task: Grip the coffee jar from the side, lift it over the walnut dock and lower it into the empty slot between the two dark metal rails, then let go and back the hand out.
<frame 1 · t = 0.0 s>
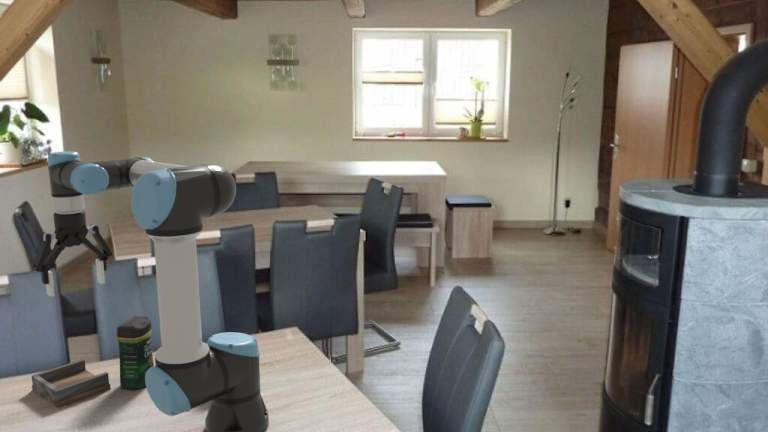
hand: (76, 289, 173), 28 cm above the table, tool pointing down, fingers open, 13 cm apart
coffee jar: (138, 383, 181), on the table
condiment: (222, 383, 181), on the table
rail dock: (71, 389, 177), on the table
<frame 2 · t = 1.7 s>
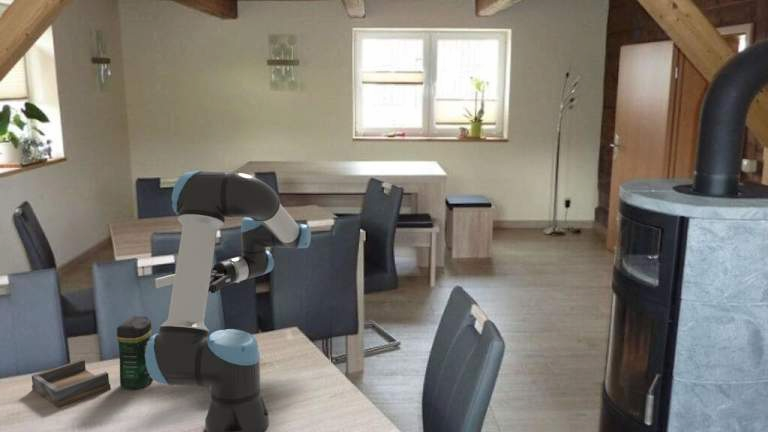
hand: (169, 288, 185), 25 cm above the table, tool horizontal, fingers open, 13 cm apart
nothing on the table moved.
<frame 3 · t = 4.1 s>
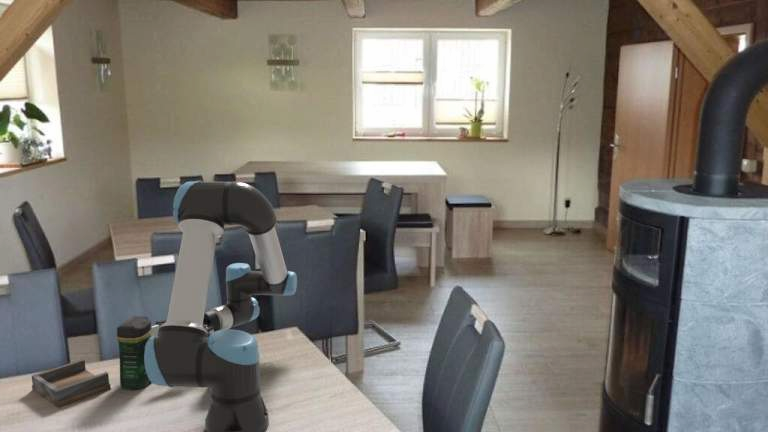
hand: (151, 341, 183), 10 cm above the table, tool horizontal, fingers open, 13 cm apart
nothing on the table moved.
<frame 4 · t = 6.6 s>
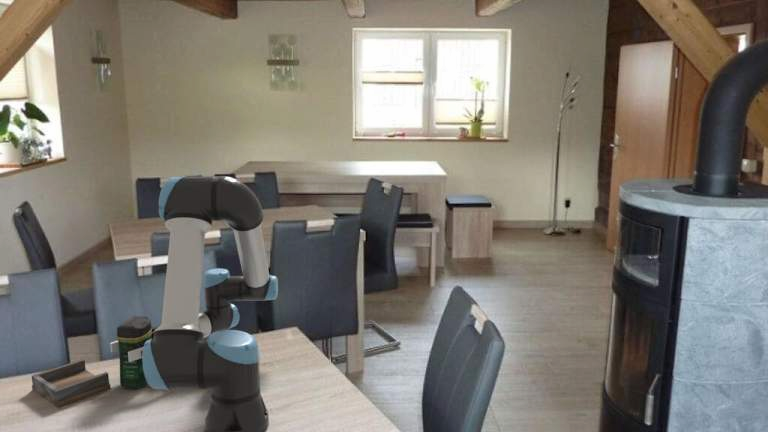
hand: (119, 352, 175), 11 cm above the table, tool horizontal, fingers closed on coffee jar, 9 cm apart
coffee jar: (138, 383, 181), on the table, touching gripper
everything else where it was.
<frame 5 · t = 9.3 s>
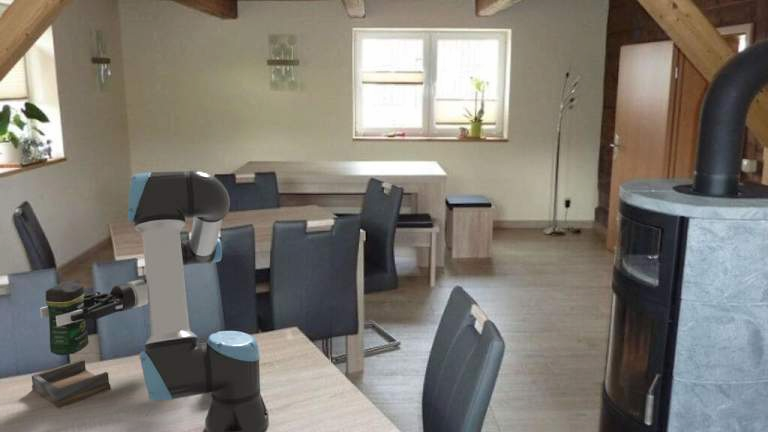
hand: (48, 317, 169), 22 cm above the table, tool horizontal, fingers closed on coffee jar, 9 cm apart
coffee jar: (70, 349, 175), point 11 cm above the table, touching gripper
everything else where it was.
when the fingers open (13 cm above the table, at t = 12.2 s): coffee jar drops 1 cm, resting on rail dock.
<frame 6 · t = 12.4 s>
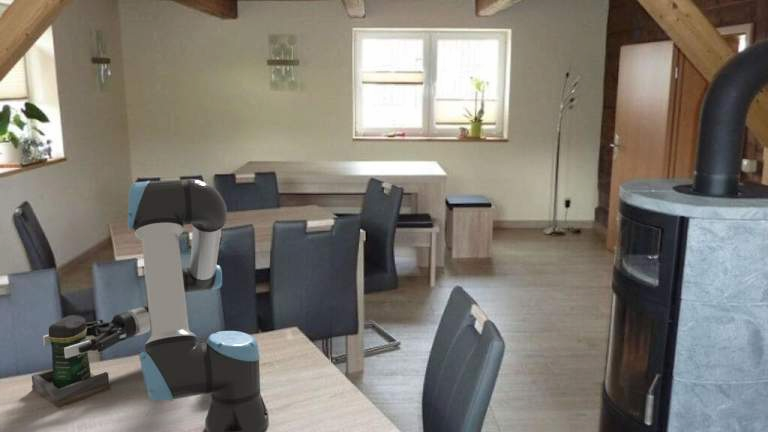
hand: (54, 347, 171), 13 cm above the table, tool horizontal, fingers open, 11 cm apart
coffee jar: (73, 384, 177), point 1 cm above the table, touching rail dock
everything else where it was.
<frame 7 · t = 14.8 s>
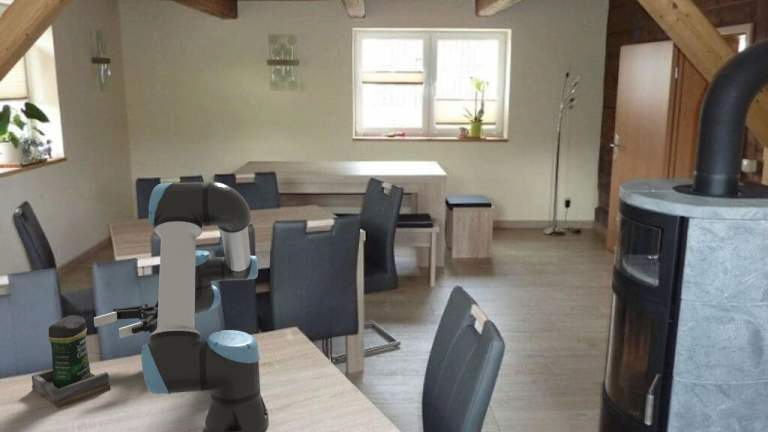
hand: (106, 327, 182), 15 cm above the table, tool horizontal, fingers open, 13 cm apart
nothing on the table moved.
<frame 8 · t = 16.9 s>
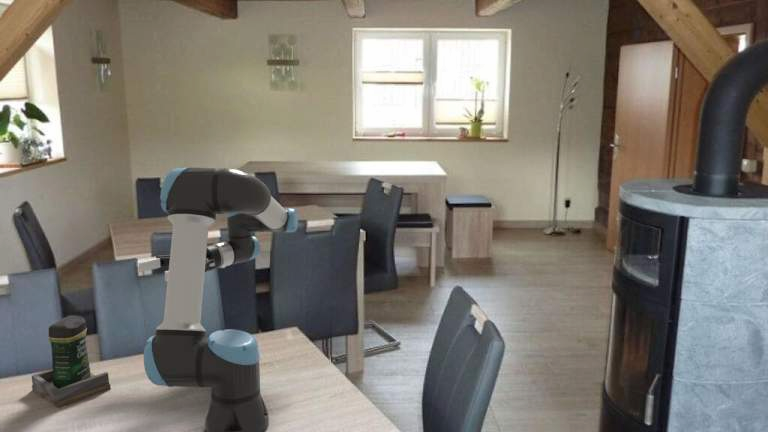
hand: (152, 271, 182), 30 cm above the table, tool horizontal, fingers open, 13 cm apart
nothing on the table moved.
at the end: coffee jar 0.2 cm off-centre on the rail dock, point 1.3 cm above the rail dock's base; coffee jar tilted 0°; the gripper is holding nothing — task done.
